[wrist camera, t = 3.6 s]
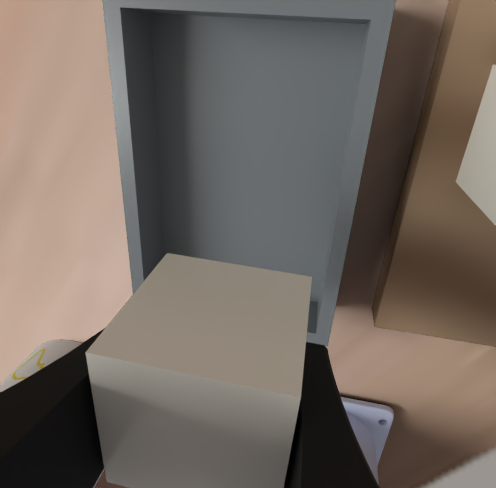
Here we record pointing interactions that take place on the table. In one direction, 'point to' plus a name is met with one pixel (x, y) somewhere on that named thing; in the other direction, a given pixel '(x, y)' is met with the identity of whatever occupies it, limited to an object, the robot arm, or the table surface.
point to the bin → (245, 131)
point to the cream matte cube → (202, 376)
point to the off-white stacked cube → (482, 154)
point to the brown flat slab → (444, 199)
